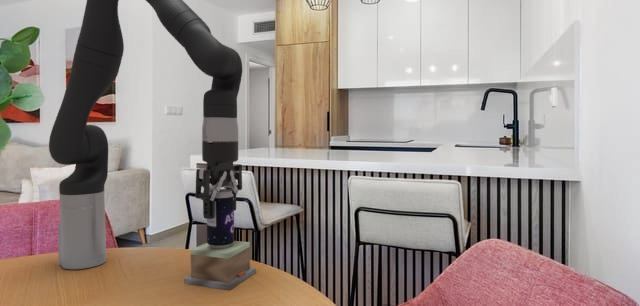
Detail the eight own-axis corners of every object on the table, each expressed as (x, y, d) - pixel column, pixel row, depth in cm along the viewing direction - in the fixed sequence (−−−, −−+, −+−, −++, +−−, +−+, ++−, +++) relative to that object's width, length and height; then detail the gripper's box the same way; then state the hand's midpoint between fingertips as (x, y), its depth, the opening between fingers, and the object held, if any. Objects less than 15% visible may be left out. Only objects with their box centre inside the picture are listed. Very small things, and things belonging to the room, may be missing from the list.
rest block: (184, 283, 85) (183, 250, 85) (214, 266, 95) (213, 237, 95) (229, 290, 81) (229, 255, 81) (256, 272, 92) (255, 241, 91)
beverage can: (227, 250, 85) (227, 193, 84) (202, 248, 86) (202, 192, 85) (237, 243, 90) (237, 189, 90) (214, 241, 91) (213, 188, 91)
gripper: (223, 138, 95) (223, 207, 96) (184, 139, 81) (184, 219, 82) (252, 139, 92) (252, 209, 93) (216, 140, 79) (216, 223, 80)
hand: (220, 214), depth 88 cm, fingers open, 8 cm apart
